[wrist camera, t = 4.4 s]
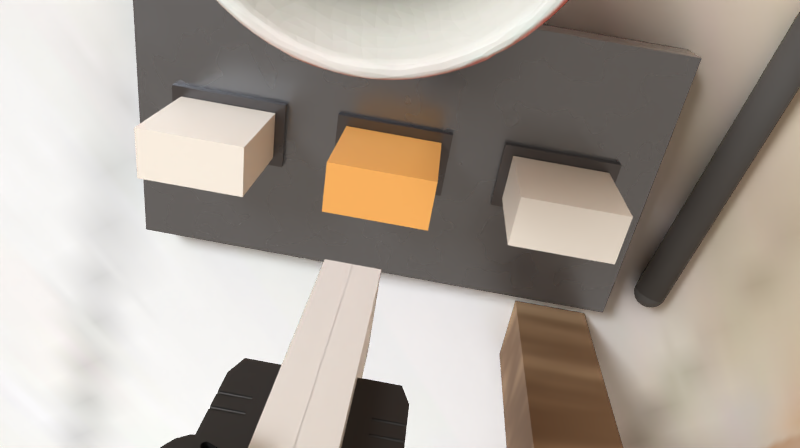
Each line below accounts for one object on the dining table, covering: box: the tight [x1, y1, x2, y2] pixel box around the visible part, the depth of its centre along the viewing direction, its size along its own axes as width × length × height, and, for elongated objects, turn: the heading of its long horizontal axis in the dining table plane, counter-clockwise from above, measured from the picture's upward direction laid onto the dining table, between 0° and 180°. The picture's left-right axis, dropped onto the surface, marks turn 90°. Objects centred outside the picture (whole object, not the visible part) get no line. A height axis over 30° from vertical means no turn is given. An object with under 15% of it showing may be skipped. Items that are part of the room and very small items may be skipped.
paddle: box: [134, 97, 275, 197], centre depth 24 cm, size 2×4×4 cm, turn 81°
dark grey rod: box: [634, 12, 800, 307], centre depth 25 cm, size 14×1×1 cm, turn 163°
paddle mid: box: [322, 126, 442, 231], centre depth 24 cm, size 2×4×4 cm, turn 82°
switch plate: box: [133, 0, 701, 312], centre depth 26 cm, size 12×22×2 cm, turn 81°
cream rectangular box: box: [502, 156, 633, 264], centre depth 23 cm, size 2×4×4 cm, turn 81°
